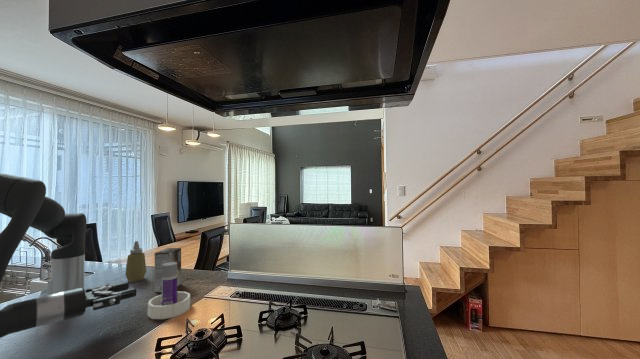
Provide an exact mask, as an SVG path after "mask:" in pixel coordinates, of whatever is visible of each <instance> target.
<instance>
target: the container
mask: <svg viewBox="0 0 640 359" xmlns="http://www.w3.org/2000/svg"><path fill="white" fill-rule="evenodd" d="M177 291H178V286H177V263H176V262H169V263H164V264H163V265H162V292H161V294H162V306H164V305H170V304H175V303H177Z"/></svg>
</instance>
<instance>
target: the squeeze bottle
mask: <svg viewBox="0 0 640 359" xmlns="http://www.w3.org/2000/svg"><path fill="white" fill-rule="evenodd" d="M129 252H130V253H129V254H128V255H127V261H126V266H125V267H126V268H125V274H124V275H125V277H126V279H127V281H128V283H136V282H140V281H143V280H144V278H145V276H146V274H147V266H146V265H147V264H146V256H145V255H146V254H145V252H143V248H142V247H140V244H139V241H138V240H135V241H134V243H133V247H132V248H131V249H130V250H129Z"/></svg>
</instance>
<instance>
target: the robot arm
mask: <svg viewBox="0 0 640 359" xmlns="http://www.w3.org/2000/svg"><path fill="white" fill-rule="evenodd" d="M46 193H47V186H46V184H45V183H44V181H42V180H39V179H35V178H30V177H24V176H19V175H13V174H9V173H0V214H2V215H4V216H7V217H9V218H10V220H9V222H8V224H7V225H6V227H5V228H4V229H3V230H2V231H1V232H0V285H1V284H2V281H3V278H4V276H5V274H6V270H7V268H8V267H9V263H10V261H11V260H12V257H13V256H14V254H15V252H16V251H17V248H19V246H20V244H21V242H22V240H23V239H24V238H25V235H26V234H27V232H28V230H29V229H30V228H32V229H36V230H38V231H39V232H42V234H44V235H45V236H46V237H48V238H50V239H53V240H59V239H60V240H61V239H62V240H63V239H72V240H71V242H69V243H68V244H66V245H63V246H61V247H57V248H55V249H53V250H52V251H51V252H50V253H51V254H50V279H49V280H48V281H47V292H46V293H47V294H46V295H42V296H39V297H37V298H31V299H27V300H22V301H18V302H14V303H11V304H7V305H6V306H4V307H3V308H2V309H0V339H1V338H3V337H5V336H8V335H11V334H14V333H15V334H16V333H19V332H22V331H26V330H30V329H34V328H36V327H38V328H39V327H42V326H43V327H44V326H48V325H51V324H55V323H59V322H63V321H67V320H70V319H73V318H78V317H81V316H83V315H84V314H85V313H86V309H87V308H92V311H98V310H102V309H106V308H108V307H113V306H116V305H117V306H118V305H120V304H121V301H123V300H127V299H130V298H135V297H136V296H137V289H136V288H130V282H129V281H128V282H121V283H117V284H110V283H106V284H101V285H98V286H97V285H96V286H94V287H89V288H86V289H85V266H86V264H85V262H86V261H85V260H86V258H85V257H86V255H85V254H86V236H87V234H86V233H87V224H88V223H87V222H88V221H87V216H86V215H85V213H82V212H77V213H75V212H74V213H73V212H72V213H66V212H65V208H64V206H63V205H61V204H60V203H58V202H57V201H56V200H55V199H53V198H50V197H48V196H46V195H47V194H46Z"/></svg>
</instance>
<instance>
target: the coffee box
mask: <svg viewBox="0 0 640 359" xmlns="http://www.w3.org/2000/svg"><path fill="white" fill-rule="evenodd" d="M169 262H176V263H177V287H179V286H180V285H182V247H177V248H176V247H172V248H171V247H169V248H168V247H167V248H165V249H162V250H160V251H157V252H154V292H155V293H162V265H163V264H164V263H169Z"/></svg>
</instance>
